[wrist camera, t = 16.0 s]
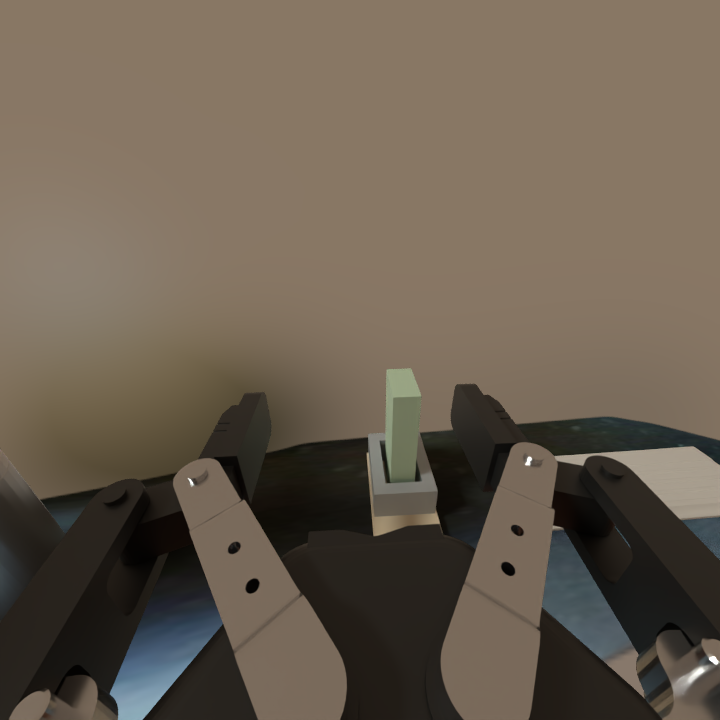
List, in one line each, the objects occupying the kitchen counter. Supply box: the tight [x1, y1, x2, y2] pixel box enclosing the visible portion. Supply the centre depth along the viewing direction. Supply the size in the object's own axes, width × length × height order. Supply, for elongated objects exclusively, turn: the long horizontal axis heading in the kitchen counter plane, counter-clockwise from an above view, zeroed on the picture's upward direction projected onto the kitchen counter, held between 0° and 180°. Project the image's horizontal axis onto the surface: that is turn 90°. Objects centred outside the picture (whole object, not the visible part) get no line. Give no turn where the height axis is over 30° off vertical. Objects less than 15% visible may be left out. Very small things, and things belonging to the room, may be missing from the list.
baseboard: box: [552, 447, 720, 531], centre depth 41 cm, size 31×3×12 cm
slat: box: [385, 369, 421, 483], centre depth 39 cm, size 3×6×16 cm, turn 2°
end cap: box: [368, 433, 438, 517], centre depth 42 cm, size 8×10×4 cm
